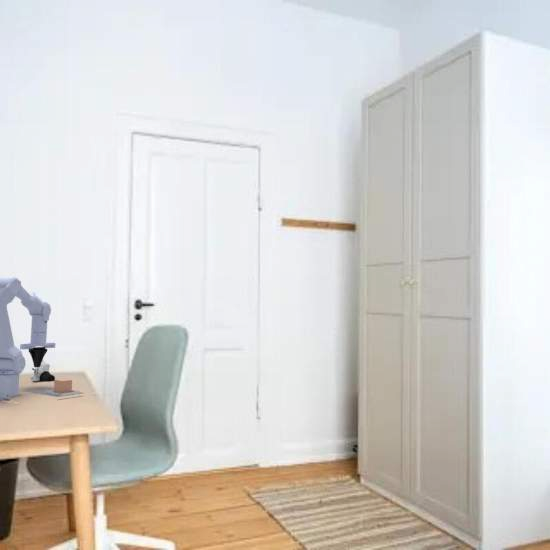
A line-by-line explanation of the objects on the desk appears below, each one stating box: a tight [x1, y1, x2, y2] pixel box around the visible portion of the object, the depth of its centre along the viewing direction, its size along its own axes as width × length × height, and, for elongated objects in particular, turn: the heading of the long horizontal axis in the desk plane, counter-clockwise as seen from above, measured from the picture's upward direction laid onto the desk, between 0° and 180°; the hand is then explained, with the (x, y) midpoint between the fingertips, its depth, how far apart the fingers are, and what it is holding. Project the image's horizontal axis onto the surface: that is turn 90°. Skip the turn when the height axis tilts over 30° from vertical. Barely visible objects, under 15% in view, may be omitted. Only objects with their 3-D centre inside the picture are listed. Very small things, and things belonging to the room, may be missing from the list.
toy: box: [31, 359, 56, 383], centre depth 246 cm, size 6×12×15 cm
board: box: [24, 387, 83, 401], centre depth 214 cm, size 20×12×1 cm, turn 59°
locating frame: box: [46, 389, 81, 397], centre depth 211 cm, size 8×8×1 cm
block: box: [53, 378, 73, 393], centre depth 211 cm, size 4×4×5 cm
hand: (37, 367), depth 222 cm, fingers closed
